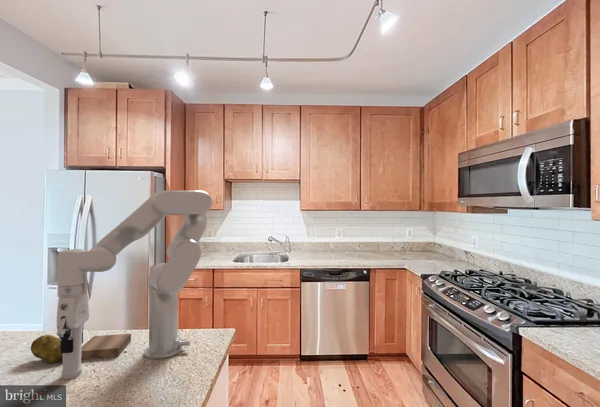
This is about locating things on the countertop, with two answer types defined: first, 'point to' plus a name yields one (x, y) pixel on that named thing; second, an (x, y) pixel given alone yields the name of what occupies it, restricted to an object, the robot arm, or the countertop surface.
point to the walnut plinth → (105, 346)
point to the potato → (47, 349)
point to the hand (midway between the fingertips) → (72, 347)
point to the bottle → (73, 356)
